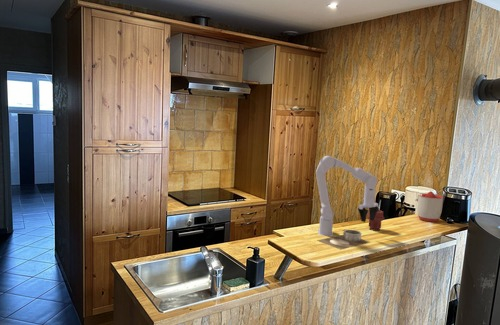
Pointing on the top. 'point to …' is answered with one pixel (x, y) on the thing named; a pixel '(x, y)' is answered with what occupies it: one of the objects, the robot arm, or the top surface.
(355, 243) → the seat board
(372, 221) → the mechanical component
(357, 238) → the steel bearing ring
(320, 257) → the top surface
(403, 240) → the top surface
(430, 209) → the citrus juicer
